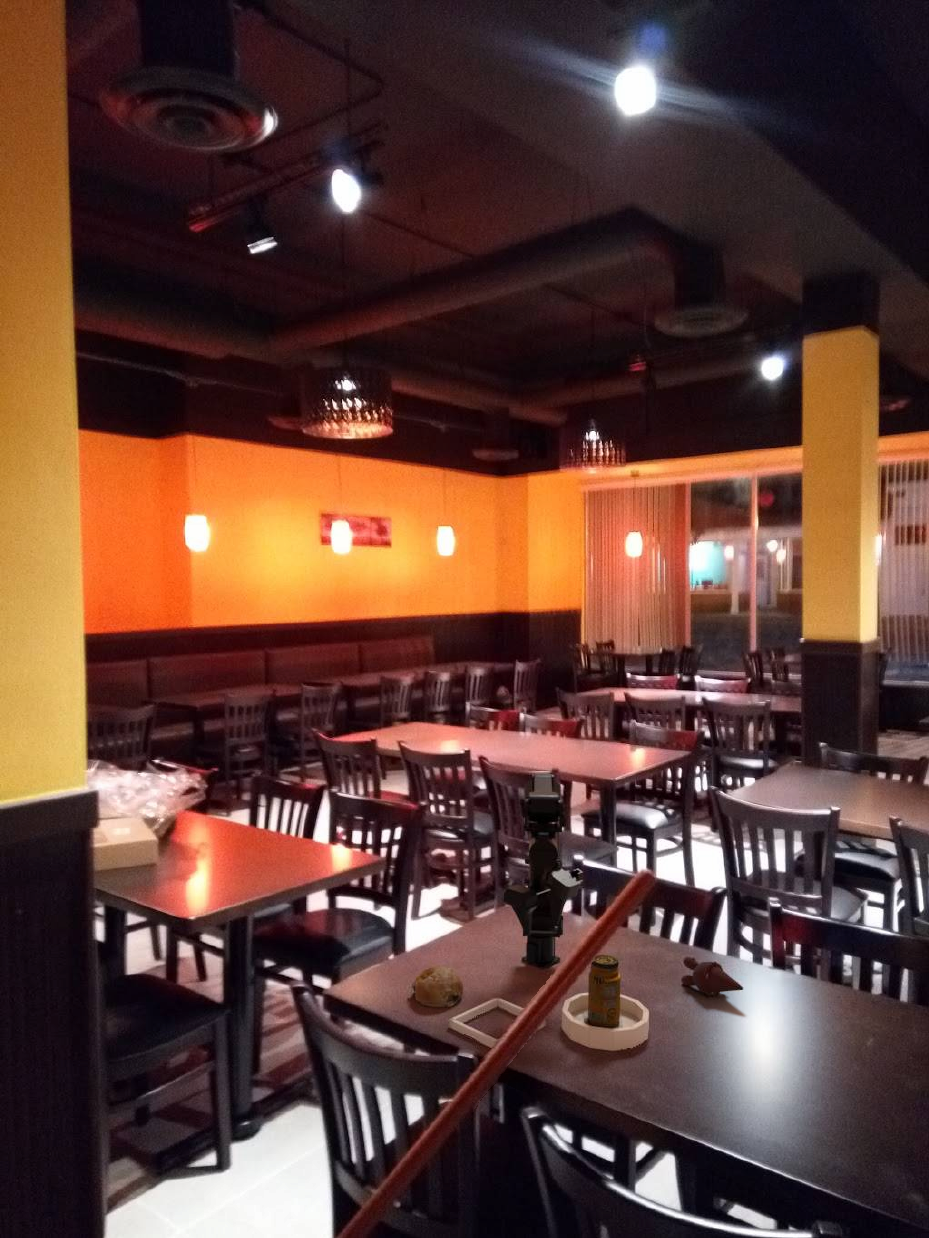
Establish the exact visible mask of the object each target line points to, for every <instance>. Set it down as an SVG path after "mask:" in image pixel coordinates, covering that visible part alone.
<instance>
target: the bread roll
mask: <svg viewBox="0 0 929 1238" xmlns="http://www.w3.org/2000/svg"><path fill="white" fill-rule="evenodd" d="M414 979H415V980H414V981H412V983H411V986H410V987H411V989H413V991H414V992H413V996H414V998H415V1000H416V1001H417V1002H418V1003H420V1004H421V1005H422V1006H428V1007H432V1008H445V1007H446V1006H447V1008H451V1007H453V1006H454V1005H455V1004H456V1003H458V1001H459V1000H460V999H462V997H463V995H464V984H463V982H462V979H461V978H460V977H459V976H458V974H457V973H455V972H454V970H453V969H452V968H450V967H448V968H447V967H445V966H439V965H437V966H432V967H427V968H426V969H423V971H421V972H420V973H419V974H418V975H417V976H415V978H414Z"/></svg>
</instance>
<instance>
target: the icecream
mask: <svg viewBox="0 0 929 1238" xmlns="http://www.w3.org/2000/svg"><path fill="white" fill-rule="evenodd" d="M683 965H684V966H685V967H686V968H687V969H690V970H691V971H693V972H692V975H690V974H686V975H683V976H682V977H681V979H680V980H681V983H682V984H683V985H685V986H686V987H690V986H691V987H692V986H694V987H696V988H697V989H698V990H699V991H700V992H701V993H703V994H706V995H707V996H709V997H712V998H714V997H715V996H717V995H719V994H720V993H723V992H733V991H734V992H735V991H743V990H744V987H743V986H742V985H741V984H740V983H739V982H737V981H736V980H735V979H734V978H733V977H732V976H730V975H729V974H727V973H726V972H725V971H724V969H723V966H722V965H721V964H720V963H718V962H717V961H702V962H698V961H697V960H696V958H695V957H690V956H685V957H684V959H683ZM714 995H715V996H714ZM713 996H714V997H713Z"/></svg>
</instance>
